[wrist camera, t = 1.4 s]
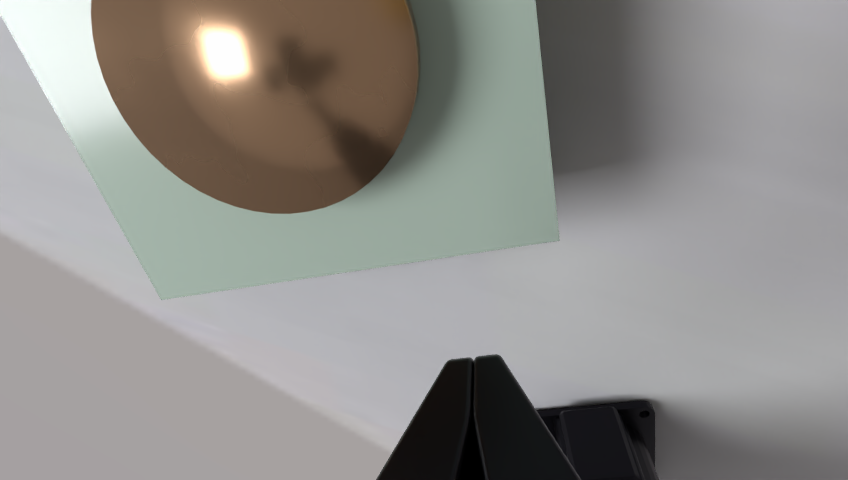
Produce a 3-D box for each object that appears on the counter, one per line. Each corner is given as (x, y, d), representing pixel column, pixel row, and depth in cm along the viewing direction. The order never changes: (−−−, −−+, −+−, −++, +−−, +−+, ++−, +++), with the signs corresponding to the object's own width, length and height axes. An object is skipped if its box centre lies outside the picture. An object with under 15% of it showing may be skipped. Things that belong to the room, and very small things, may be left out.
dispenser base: (538, 179, 20) (559, 240, 16) (219, 233, 22) (161, 300, 18) (484, -295, 14) (494, -414, 9) (42, -152, 16) (-116, -192, 12)
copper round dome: (450, 130, 18) (445, 188, 14) (246, 169, 19) (180, 233, 15) (398, -138, 14) (368, -182, 10) (149, -68, 16) (23, -78, 11)
